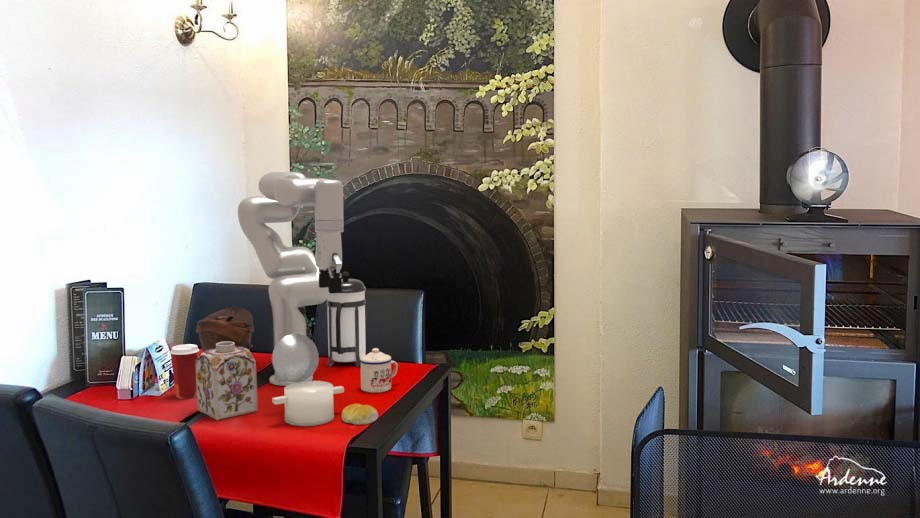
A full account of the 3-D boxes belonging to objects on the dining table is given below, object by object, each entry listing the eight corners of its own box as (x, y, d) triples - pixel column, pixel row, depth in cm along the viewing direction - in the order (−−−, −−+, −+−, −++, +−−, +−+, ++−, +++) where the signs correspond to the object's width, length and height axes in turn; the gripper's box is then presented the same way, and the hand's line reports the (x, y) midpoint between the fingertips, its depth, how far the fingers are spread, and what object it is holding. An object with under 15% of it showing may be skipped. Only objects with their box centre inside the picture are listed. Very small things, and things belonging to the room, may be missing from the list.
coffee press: (313, 362, 248) (311, 271, 245) (356, 355, 257) (354, 267, 254) (337, 373, 234) (335, 277, 231) (382, 365, 243) (381, 273, 240)
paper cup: (206, 393, 212) (204, 344, 211) (188, 401, 205) (186, 350, 203) (183, 391, 215) (181, 342, 213) (165, 398, 207) (162, 348, 206)
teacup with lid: (371, 395, 210) (371, 354, 209) (354, 388, 217) (353, 348, 216) (406, 387, 218) (406, 347, 217) (388, 380, 225) (387, 342, 224)
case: (204, 376, 230) (202, 318, 228) (191, 363, 247) (189, 308, 245) (262, 369, 239) (261, 313, 237) (246, 357, 256) (245, 305, 254)
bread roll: (355, 413, 195) (355, 398, 195) (383, 419, 190) (382, 403, 190) (333, 421, 188) (333, 406, 188) (361, 428, 183) (361, 412, 183)
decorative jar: (238, 401, 205) (236, 336, 203) (259, 411, 196) (256, 343, 194) (195, 410, 197) (192, 343, 195) (215, 421, 188) (212, 350, 186)
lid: (276, 385, 191) (273, 385, 192) (321, 378, 198) (318, 378, 199) (270, 336, 192) (267, 337, 193) (315, 331, 199) (312, 331, 200)
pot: (265, 418, 190) (264, 387, 189) (332, 405, 200) (331, 376, 200) (283, 432, 180) (283, 399, 179) (353, 417, 190) (352, 386, 190)
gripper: (306, 224, 207) (307, 286, 209) (324, 229, 191) (325, 296, 193) (333, 223, 210) (334, 284, 212) (352, 228, 194) (353, 294, 197)
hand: (329, 290), depth 203 cm, fingers open, 9 cm apart
